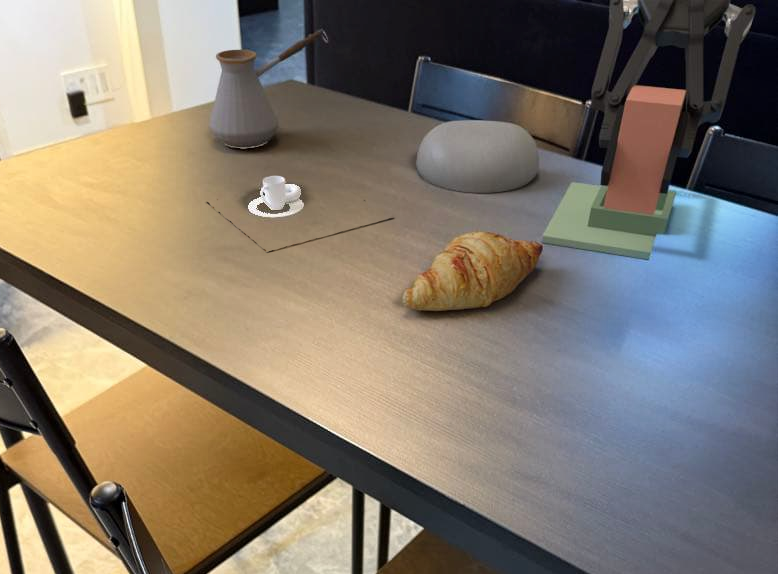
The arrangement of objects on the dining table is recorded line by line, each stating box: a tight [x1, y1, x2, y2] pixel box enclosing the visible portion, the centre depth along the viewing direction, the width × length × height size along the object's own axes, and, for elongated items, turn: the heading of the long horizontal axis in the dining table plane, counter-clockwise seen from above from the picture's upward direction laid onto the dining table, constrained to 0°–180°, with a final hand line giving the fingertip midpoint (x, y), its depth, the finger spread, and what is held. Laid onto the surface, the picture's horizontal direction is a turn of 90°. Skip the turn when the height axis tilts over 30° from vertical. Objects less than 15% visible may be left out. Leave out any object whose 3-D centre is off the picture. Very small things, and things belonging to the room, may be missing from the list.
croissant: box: [402, 231, 543, 312], centre depth 90 cm, size 21×10×8 cm, turn 127°
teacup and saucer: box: [248, 175, 304, 218], centre depth 108 cm, size 9×8×4 cm
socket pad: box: [541, 181, 677, 260], centre depth 104 cm, size 20×20×4 cm
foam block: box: [604, 84, 686, 215], centre depth 75 cm, size 5×5×10 cm
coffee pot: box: [208, 28, 330, 147], centre depth 125 cm, size 21×12×15 cm, turn 115°
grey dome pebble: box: [415, 119, 540, 194], centre depth 116 cm, size 19×7×16 cm
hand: (634, 182), depth 74 cm, fingers closed on foam block, 5 cm apart
